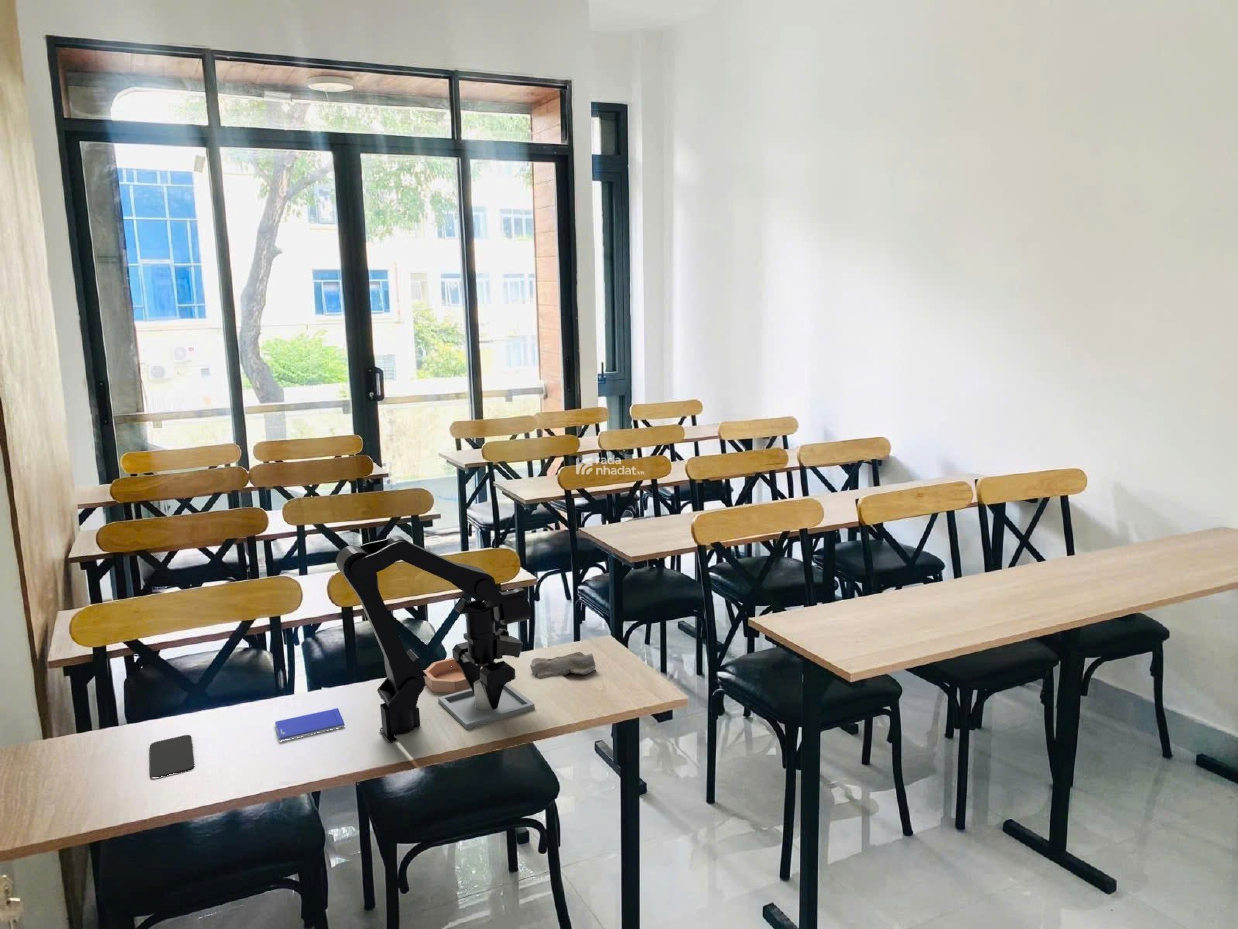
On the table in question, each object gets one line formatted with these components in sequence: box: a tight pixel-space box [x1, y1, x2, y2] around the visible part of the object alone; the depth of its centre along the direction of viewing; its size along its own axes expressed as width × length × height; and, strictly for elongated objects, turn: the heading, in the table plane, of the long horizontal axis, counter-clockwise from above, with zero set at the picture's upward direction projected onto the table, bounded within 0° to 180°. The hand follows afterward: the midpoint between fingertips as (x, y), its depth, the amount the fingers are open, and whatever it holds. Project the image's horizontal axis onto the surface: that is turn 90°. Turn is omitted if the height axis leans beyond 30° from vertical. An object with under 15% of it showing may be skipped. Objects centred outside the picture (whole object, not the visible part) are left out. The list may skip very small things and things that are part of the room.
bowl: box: [423, 657, 483, 694], centre depth 194 cm, size 13×13×4 cm
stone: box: [529, 651, 597, 680], centre depth 199 cm, size 15×10×4 cm, turn 104°
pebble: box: [474, 679, 492, 710], centre depth 181 cm, size 4×4×5 cm
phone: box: [149, 734, 195, 778], centre depth 166 cm, size 7×1×15 cm
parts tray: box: [437, 682, 536, 730], centre depth 181 cm, size 15×15×2 cm
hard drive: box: [274, 707, 346, 741], centre depth 177 cm, size 2×8×12 cm
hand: (485, 700), depth 181 cm, fingers open, 9 cm apart
